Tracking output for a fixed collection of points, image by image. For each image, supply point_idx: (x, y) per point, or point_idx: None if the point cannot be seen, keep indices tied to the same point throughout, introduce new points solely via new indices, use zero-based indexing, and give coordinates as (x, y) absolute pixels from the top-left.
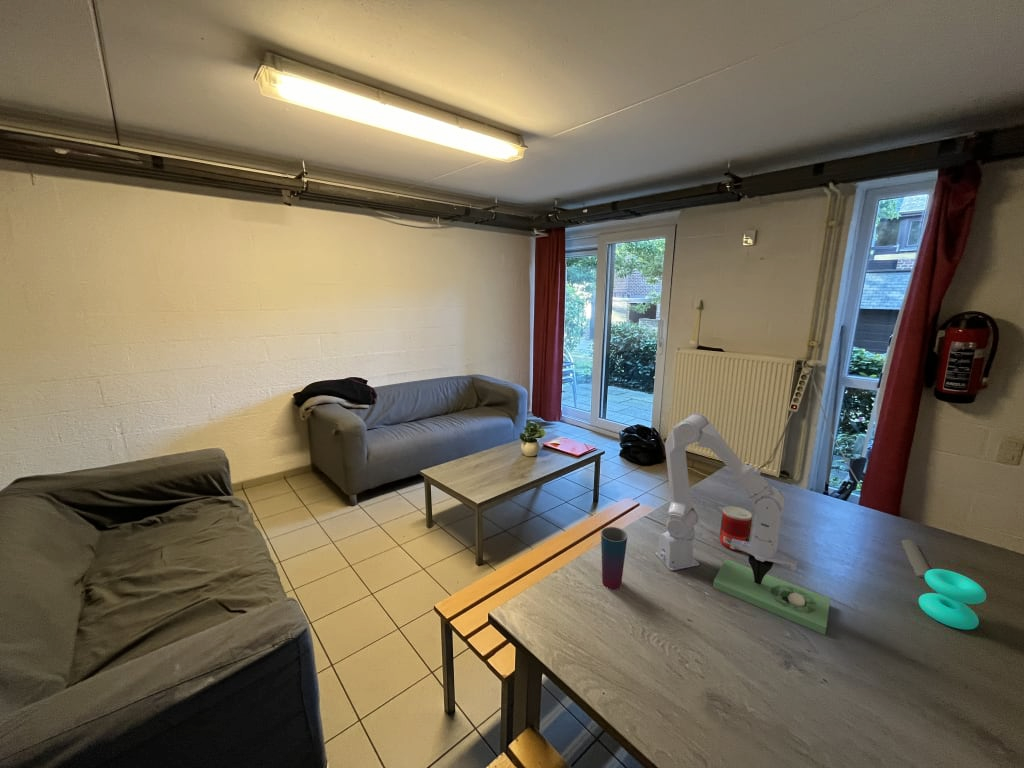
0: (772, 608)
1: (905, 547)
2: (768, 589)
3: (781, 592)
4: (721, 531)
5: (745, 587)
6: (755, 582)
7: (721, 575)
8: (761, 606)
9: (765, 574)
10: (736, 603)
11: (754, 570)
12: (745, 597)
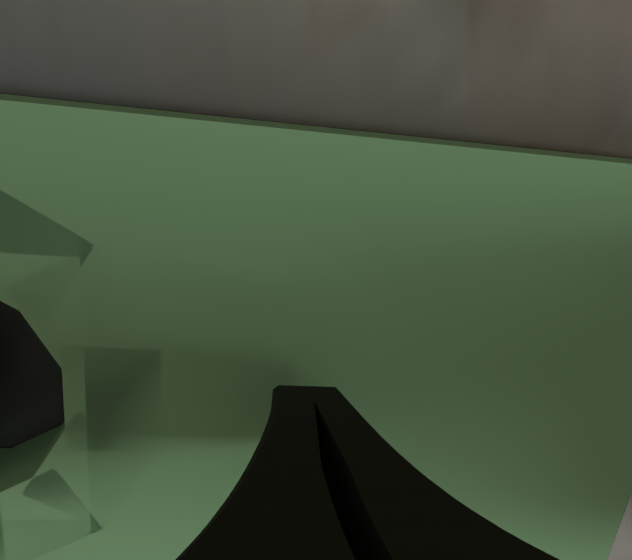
0: (101, 107)
1: None
2: (187, 390)
3: (63, 431)
4: None
5: (415, 273)
6: (329, 388)
7: None
8: (222, 117)
9: (229, 495)
10: (461, 34)
11: (411, 490)
12: (394, 137)
